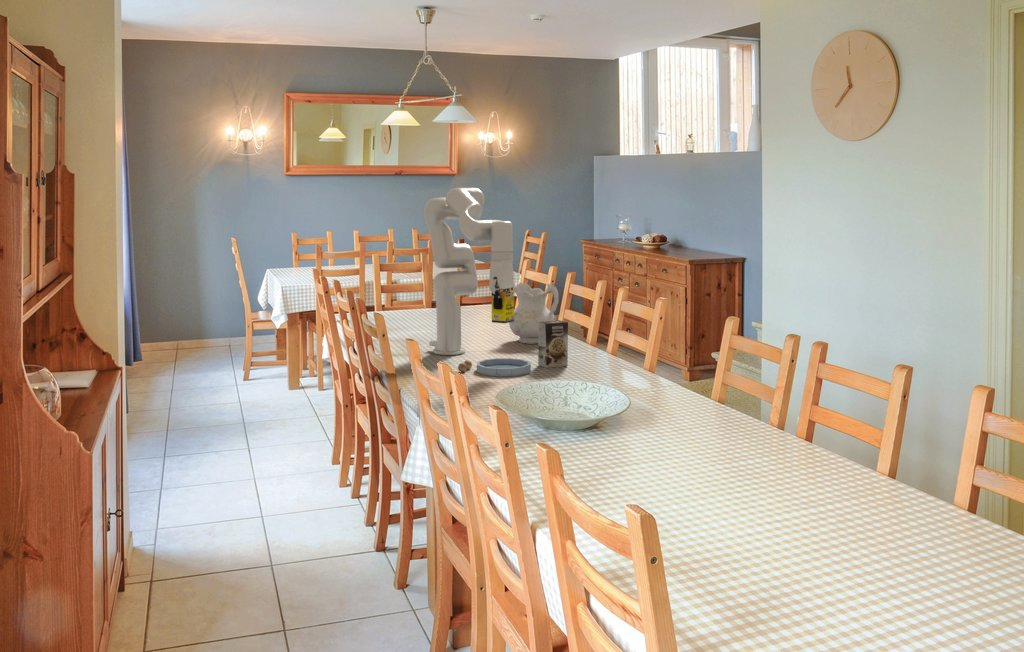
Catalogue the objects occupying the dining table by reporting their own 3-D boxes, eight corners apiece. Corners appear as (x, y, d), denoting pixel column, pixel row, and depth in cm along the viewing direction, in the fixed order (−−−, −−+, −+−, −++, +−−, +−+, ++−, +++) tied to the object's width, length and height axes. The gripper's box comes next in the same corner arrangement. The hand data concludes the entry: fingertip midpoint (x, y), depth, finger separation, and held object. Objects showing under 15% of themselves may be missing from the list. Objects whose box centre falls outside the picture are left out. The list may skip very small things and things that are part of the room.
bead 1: (456, 372, 318) (456, 363, 317) (461, 370, 320) (461, 361, 320) (464, 373, 316) (464, 364, 316) (468, 371, 319) (468, 362, 318)
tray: (466, 373, 316) (466, 365, 315) (493, 363, 332) (493, 356, 332) (514, 378, 307) (514, 370, 306) (539, 368, 323) (540, 361, 323)
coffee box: (546, 368, 324) (546, 323, 322) (537, 365, 330) (537, 321, 327) (568, 366, 328) (568, 321, 326) (559, 362, 334) (559, 319, 331)
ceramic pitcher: (564, 341, 385) (566, 283, 383) (554, 346, 366) (555, 284, 364) (515, 339, 391) (516, 281, 389) (502, 343, 372) (503, 283, 370)
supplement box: (505, 323, 315) (505, 292, 313) (491, 322, 318) (490, 291, 316) (514, 321, 320) (514, 290, 318) (500, 320, 323) (499, 289, 321)
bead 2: (461, 369, 322) (461, 360, 322) (466, 367, 325) (466, 359, 325) (469, 370, 321) (469, 361, 320) (473, 368, 324) (473, 359, 323)
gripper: (504, 255, 325) (505, 305, 327) (480, 258, 310) (481, 310, 312) (523, 255, 321) (523, 305, 324) (499, 258, 306) (500, 311, 309)
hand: (502, 307), depth 318 cm, fingers closed on supplement box, 6 cm apart
